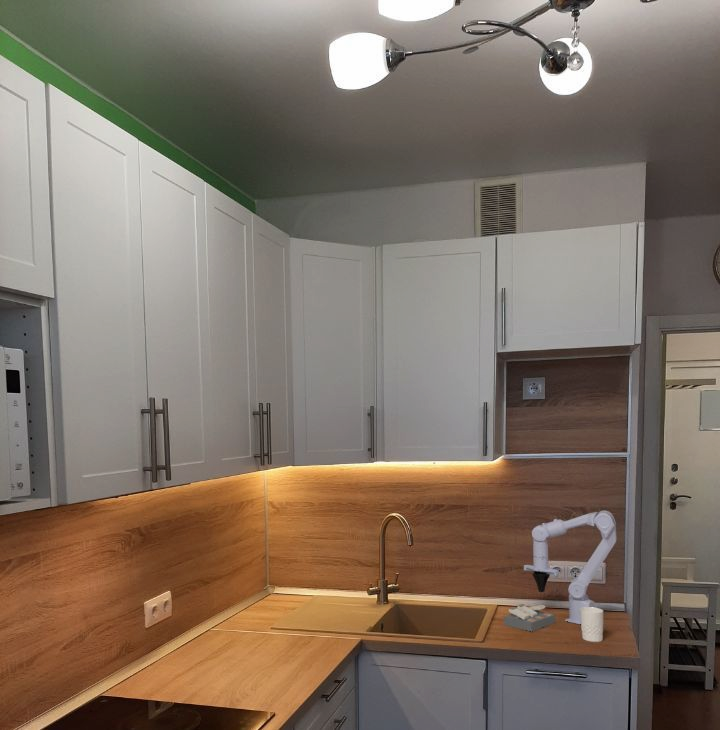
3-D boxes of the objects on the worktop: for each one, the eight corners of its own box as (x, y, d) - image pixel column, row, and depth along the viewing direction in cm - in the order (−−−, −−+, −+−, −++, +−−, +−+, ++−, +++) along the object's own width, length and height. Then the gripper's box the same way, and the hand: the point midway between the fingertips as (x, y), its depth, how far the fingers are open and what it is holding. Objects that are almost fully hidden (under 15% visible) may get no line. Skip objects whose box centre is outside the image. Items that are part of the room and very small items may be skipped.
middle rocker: (537, 615, 247) (538, 612, 247) (531, 617, 245) (532, 614, 244) (522, 606, 252) (523, 603, 252) (516, 608, 250) (517, 605, 250)
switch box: (555, 623, 248) (554, 613, 249) (531, 632, 237) (531, 621, 238) (528, 616, 257) (527, 606, 257) (504, 624, 246) (503, 614, 247)
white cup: (576, 639, 230) (575, 609, 231) (587, 634, 235) (586, 605, 236) (598, 644, 224) (596, 614, 225) (608, 639, 229) (607, 609, 230)
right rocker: (545, 607, 251) (544, 604, 251) (540, 609, 248) (539, 605, 249) (530, 609, 256) (529, 605, 256) (525, 611, 253) (524, 607, 254)
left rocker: (529, 618, 243) (530, 614, 243) (523, 620, 241) (524, 616, 241) (513, 609, 249) (514, 606, 249) (508, 611, 246) (508, 608, 246)
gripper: (519, 555, 261) (520, 590, 260) (552, 560, 251) (552, 596, 249) (528, 552, 266) (529, 587, 264) (561, 558, 255) (562, 593, 254)
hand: (541, 591), depth 257 cm, fingers closed
